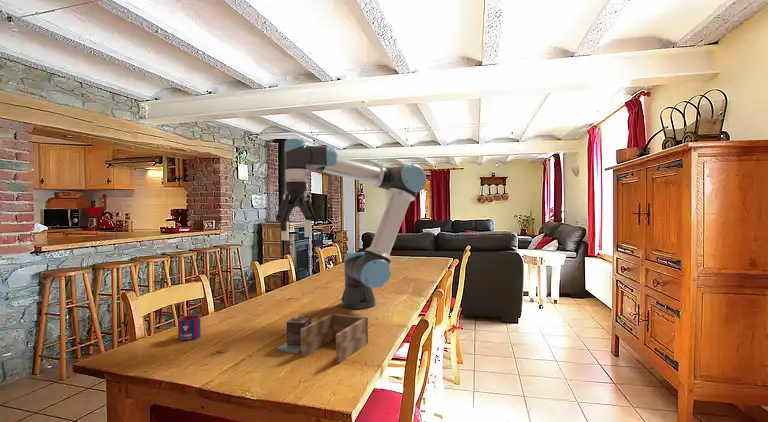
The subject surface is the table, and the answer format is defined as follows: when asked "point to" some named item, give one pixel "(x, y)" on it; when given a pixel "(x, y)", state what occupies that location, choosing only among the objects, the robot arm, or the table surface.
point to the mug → (189, 327)
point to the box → (296, 329)
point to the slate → (290, 348)
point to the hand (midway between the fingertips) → (297, 238)
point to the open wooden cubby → (335, 335)
